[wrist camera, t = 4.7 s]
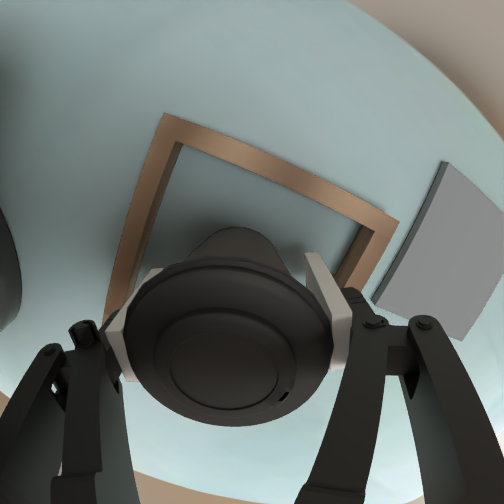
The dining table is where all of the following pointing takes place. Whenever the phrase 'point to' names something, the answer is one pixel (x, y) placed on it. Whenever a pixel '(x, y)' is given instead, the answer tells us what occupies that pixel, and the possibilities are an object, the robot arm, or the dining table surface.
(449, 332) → the pad
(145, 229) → the wooden square frame
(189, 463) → the dining table surface
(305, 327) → the coffee cup
